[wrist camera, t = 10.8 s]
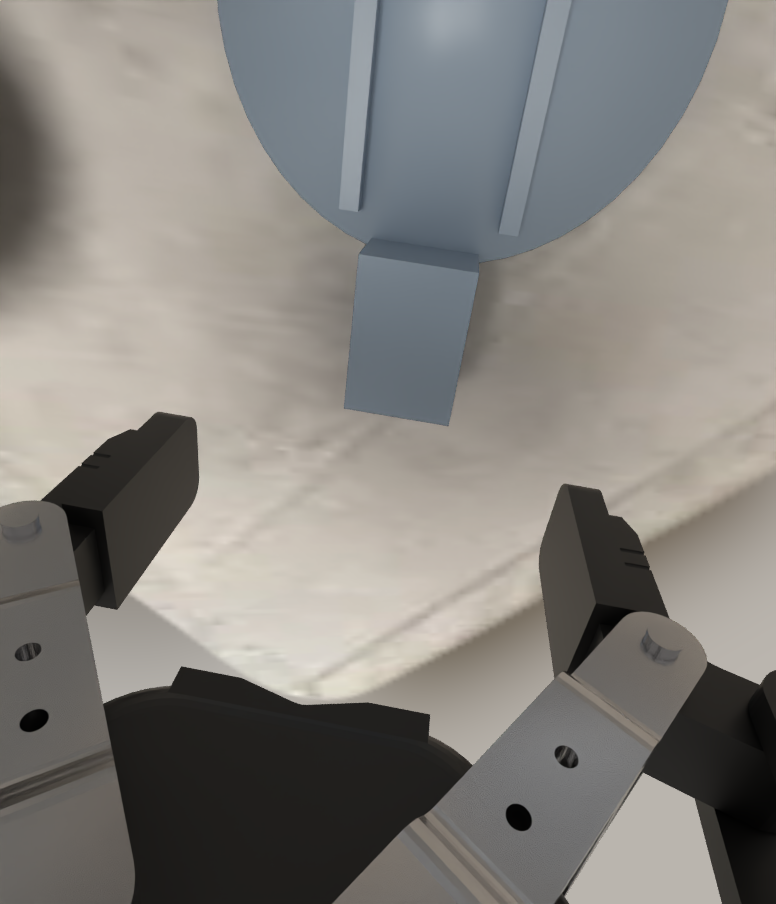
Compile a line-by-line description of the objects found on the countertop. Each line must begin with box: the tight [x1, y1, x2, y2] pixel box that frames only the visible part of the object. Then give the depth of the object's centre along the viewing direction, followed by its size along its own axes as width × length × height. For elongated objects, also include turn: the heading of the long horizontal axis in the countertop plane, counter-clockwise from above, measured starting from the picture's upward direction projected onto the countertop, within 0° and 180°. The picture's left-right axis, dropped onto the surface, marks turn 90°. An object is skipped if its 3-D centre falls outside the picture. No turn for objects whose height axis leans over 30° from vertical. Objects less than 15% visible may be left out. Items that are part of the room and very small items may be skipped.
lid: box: [217, 0, 728, 426], centre depth 16 cm, size 18×14×4 cm
